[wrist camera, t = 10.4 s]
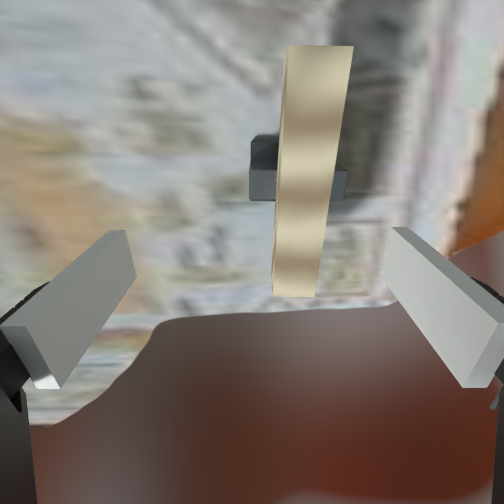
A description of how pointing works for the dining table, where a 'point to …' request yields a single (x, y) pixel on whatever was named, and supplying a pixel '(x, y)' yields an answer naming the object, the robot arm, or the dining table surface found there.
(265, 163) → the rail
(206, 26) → the dining table surface
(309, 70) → the bar
